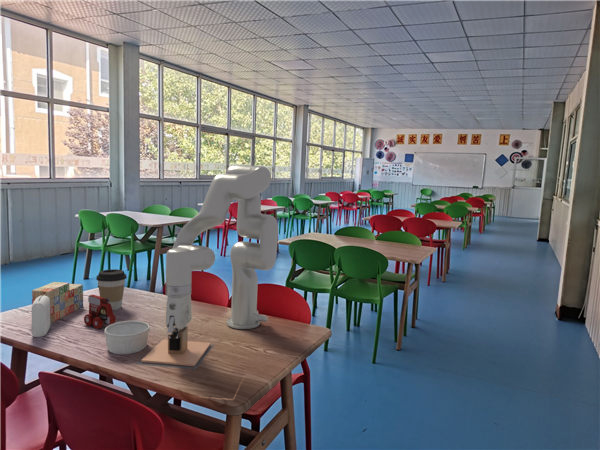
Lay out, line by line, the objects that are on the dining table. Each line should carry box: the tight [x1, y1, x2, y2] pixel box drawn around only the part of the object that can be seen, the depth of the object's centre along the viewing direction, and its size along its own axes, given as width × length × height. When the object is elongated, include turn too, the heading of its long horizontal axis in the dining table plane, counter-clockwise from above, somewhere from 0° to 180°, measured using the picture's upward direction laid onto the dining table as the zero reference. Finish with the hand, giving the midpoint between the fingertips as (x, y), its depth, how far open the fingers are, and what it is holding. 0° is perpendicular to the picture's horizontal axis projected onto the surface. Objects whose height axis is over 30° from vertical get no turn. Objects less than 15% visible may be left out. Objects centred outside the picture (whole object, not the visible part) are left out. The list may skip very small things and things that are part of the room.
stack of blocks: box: [31, 281, 84, 324], centre depth 163 cm, size 21×6×12 cm, turn 176°
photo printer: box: [31, 295, 51, 338], centre depth 144 cm, size 10×4×12 cm, turn 20°
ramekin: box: [103, 320, 151, 355], centre depth 135 cm, size 13×13×7 cm
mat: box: [135, 340, 215, 370], centre depth 132 cm, size 18×18×1 cm
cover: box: [141, 326, 212, 366], centre depth 132 cm, size 16×16×8 cm
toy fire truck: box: [83, 294, 117, 330], centre depth 154 cm, size 7×12×10 cm, turn 60°
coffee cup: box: [95, 268, 128, 311], centre depth 173 cm, size 11×11×15 cm
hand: (177, 346), depth 132 cm, fingers closed on cover, 4 cm apart
